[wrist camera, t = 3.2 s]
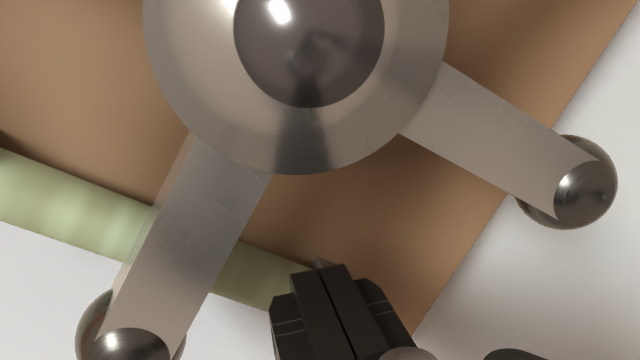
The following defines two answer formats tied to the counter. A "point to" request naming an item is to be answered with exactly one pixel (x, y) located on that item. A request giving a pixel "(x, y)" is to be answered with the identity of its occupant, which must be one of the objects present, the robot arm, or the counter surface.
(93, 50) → the stand
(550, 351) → the counter surface
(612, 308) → the counter surface
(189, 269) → the capstan
